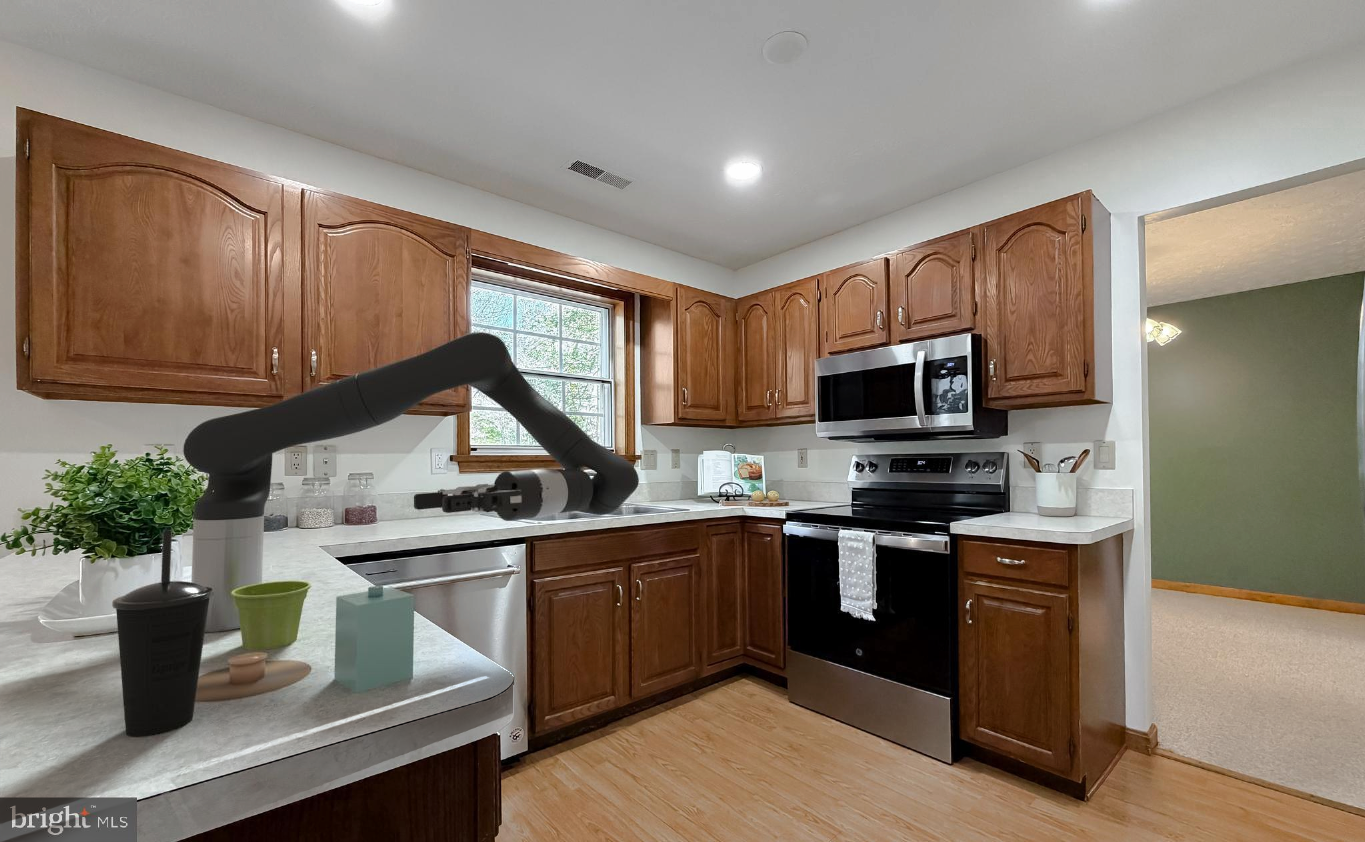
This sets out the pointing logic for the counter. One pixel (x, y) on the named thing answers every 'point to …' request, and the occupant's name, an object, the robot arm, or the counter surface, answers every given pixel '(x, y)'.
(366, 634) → the teal flask block
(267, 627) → the plant pot
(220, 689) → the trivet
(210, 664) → the counter surface
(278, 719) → the counter surface
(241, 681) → the ramekin
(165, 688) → the drinking cup
